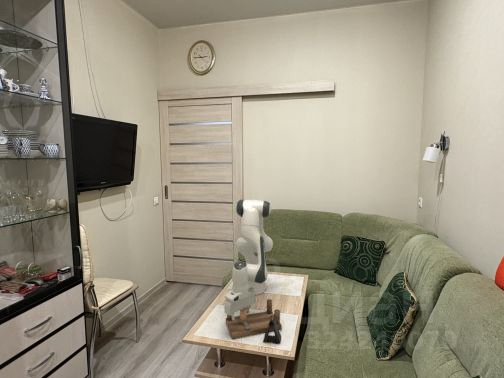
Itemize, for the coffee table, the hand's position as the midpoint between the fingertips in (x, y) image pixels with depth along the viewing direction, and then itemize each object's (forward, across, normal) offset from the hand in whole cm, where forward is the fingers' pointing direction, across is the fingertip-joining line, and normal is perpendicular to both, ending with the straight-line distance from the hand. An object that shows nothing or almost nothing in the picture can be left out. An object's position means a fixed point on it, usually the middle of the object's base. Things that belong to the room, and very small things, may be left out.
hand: (240, 315), depth 168 cm
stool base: (+8, -7, +3) cm, 11 cm away
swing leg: (+4, -1, +3) cm, 5 cm away
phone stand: (+8, -5, +19) cm, 21 cm away
